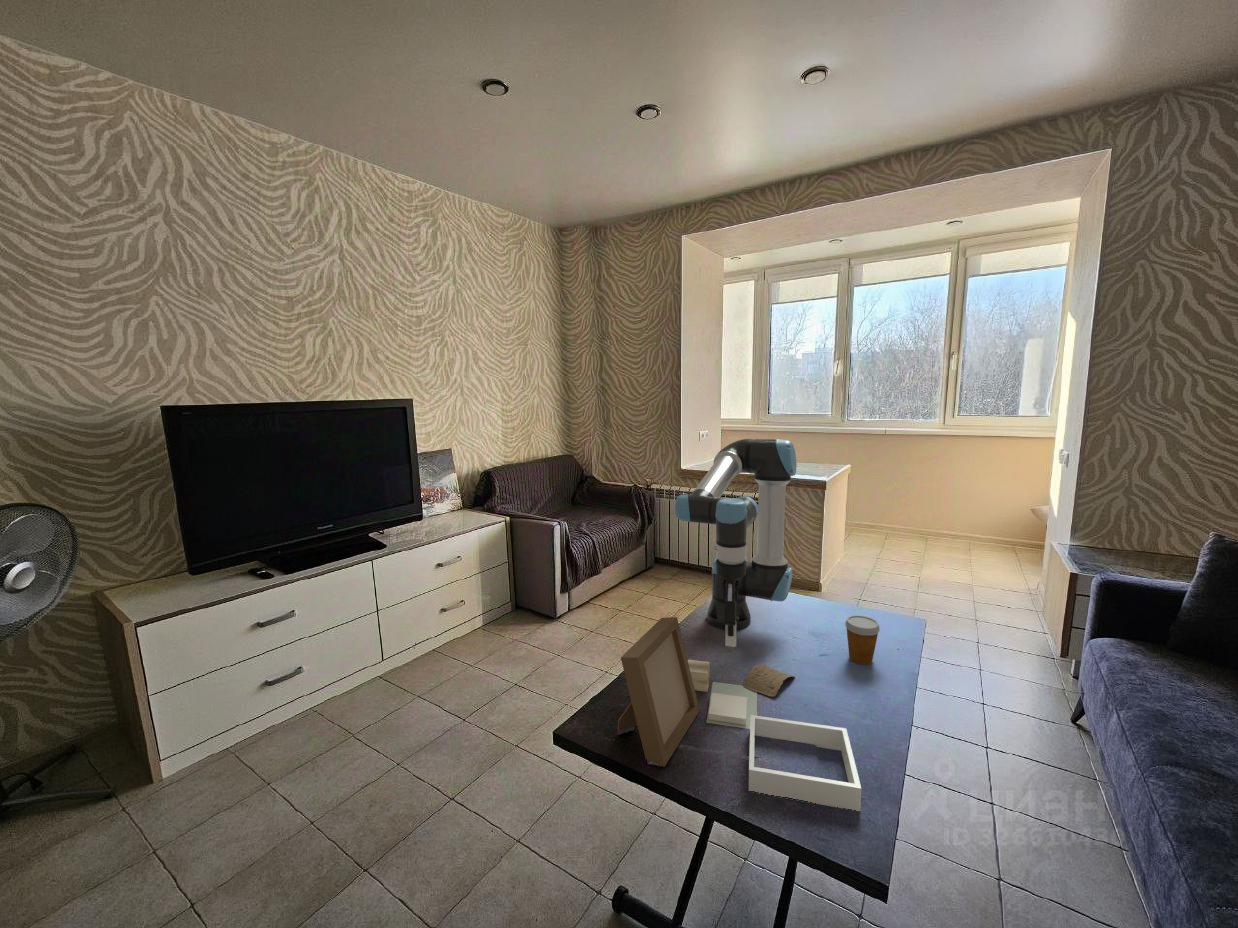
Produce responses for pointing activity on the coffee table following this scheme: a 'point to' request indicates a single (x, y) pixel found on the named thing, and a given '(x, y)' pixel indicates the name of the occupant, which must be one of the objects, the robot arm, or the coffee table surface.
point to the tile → (728, 708)
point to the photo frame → (659, 690)
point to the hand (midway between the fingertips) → (730, 644)
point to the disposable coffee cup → (861, 638)
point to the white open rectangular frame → (801, 784)
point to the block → (700, 674)
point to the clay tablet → (764, 680)
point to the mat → (736, 691)
